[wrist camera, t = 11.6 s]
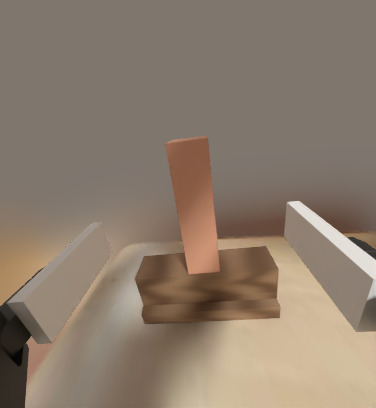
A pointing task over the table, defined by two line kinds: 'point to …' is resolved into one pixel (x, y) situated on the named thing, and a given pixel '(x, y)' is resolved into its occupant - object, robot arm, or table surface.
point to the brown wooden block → (209, 288)
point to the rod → (194, 202)
